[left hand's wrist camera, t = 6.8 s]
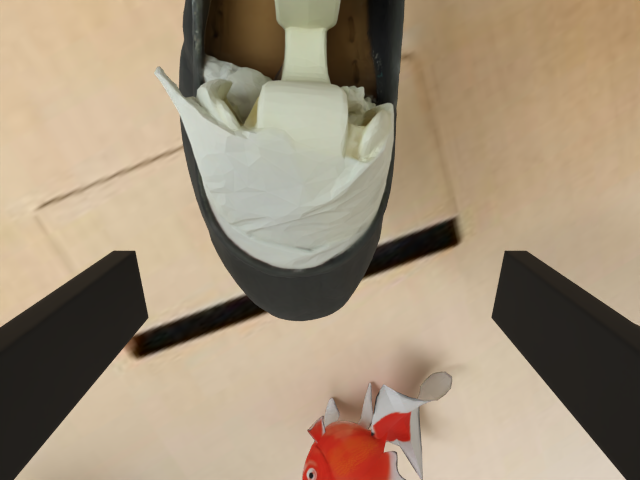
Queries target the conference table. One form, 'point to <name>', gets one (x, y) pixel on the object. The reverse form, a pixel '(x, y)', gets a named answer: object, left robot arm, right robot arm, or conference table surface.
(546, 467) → the conference table surface
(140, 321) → the left robot arm
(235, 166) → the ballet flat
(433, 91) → the conference table surface
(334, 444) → the fish
